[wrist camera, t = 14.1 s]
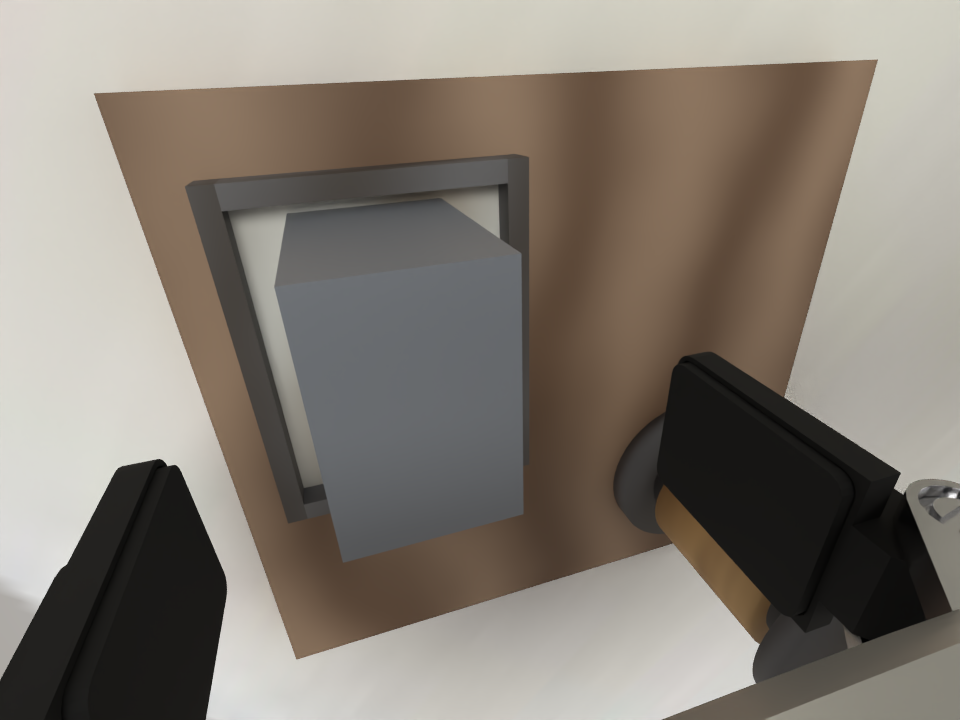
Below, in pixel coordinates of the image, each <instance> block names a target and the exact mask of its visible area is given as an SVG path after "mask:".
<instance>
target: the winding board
mask: <svg viewBox="0 0 960 720" xmlns="http://www.w3.org/2000/svg"><path fill="white" fill-rule="evenodd" d="M877 61H878V60H859V61H836V62H813V63H789V64H766V65H743V66H720V67H697V68H674V69H651V70H627V71H604V72H581V73H558V74H535V75H512V76H489V77H465V78H442V79H419V80H396V81H373V82H350V83H327V84H303V85H280V86H257V87H234V88H211V89H188V90H164V91H141V92H118V93H95V94H94V95H95V98H96V101H97V103H98V106H99V109H100V112H101V115H102V117H103V120H104V123H105V126H106V128H107V131H108V134H109V137H110V140H111V142H112V145H113V148H114V151H115V154H116V156H117V159H118V162H119V165H120V168H121V170H122V173H123V176H124V179H125V182H126V184H127V187H128V190H129V193H130V196H131V198H132V201H133V204H134V207H135V209H136V212H137V215H138V218H139V221H140V223H141V226H142V229H143V232H144V235H145V237H146V240H147V243H148V246H149V249H150V251H151V254H152V257H153V260H154V263H155V265H156V268H157V271H158V274H159V277H160V279H161V282H162V285H163V288H164V290H165V293H166V296H167V299H168V302H169V304H170V307H171V310H172V313H173V316H174V318H175V321H176V324H177V327H178V330H179V332H180V335H181V338H182V341H183V344H184V346H185V349H186V352H187V355H188V358H189V360H190V363H191V366H192V369H193V371H194V374H195V377H196V380H197V383H198V385H199V388H200V391H201V394H202V397H203V399H204V402H205V405H206V408H207V411H208V413H209V416H210V419H211V422H212V425H213V427H214V430H215V433H216V436H217V439H218V441H219V444H220V447H221V450H222V452H223V455H224V458H225V461H226V464H227V466H228V469H229V472H230V475H231V478H232V480H233V483H234V486H235V489H236V492H237V494H238V497H239V500H240V503H241V506H242V508H243V511H244V514H245V517H246V520H247V522H248V525H249V528H250V531H251V533H252V536H253V539H254V542H255V545H256V547H257V550H258V553H259V556H260V559H261V561H262V564H263V567H264V570H265V573H266V575H267V578H268V581H269V584H270V587H271V589H272V592H273V595H274V598H275V601H276V603H277V606H278V609H279V612H280V614H281V617H282V620H283V623H284V626H285V628H286V631H287V634H288V637H289V640H290V642H291V645H292V648H293V651H294V654H295V656H296V659H300V658H303V657H306V656H309V655H313V654H316V653H319V652H322V651H326V650H329V649H332V648H335V647H339V646H342V645H345V644H348V643H352V642H355V641H358V640H361V639H365V638H368V637H371V636H374V635H378V634H381V633H384V632H387V631H390V630H394V629H397V628H400V627H403V626H407V625H410V624H413V623H416V622H420V621H423V620H426V619H429V618H433V617H436V616H439V615H442V614H446V613H449V612H452V611H455V610H458V609H462V608H465V607H468V606H471V605H475V604H478V603H481V602H484V601H488V600H491V599H494V598H497V597H501V596H504V595H507V594H510V593H514V592H517V591H520V590H523V589H526V588H530V587H533V586H536V585H539V584H543V583H546V582H549V581H552V580H556V579H559V578H562V577H565V576H569V575H572V574H575V573H578V572H582V571H585V570H588V569H591V568H594V567H598V566H601V565H604V564H607V563H611V562H614V561H617V560H620V559H624V558H627V557H630V556H633V555H637V554H640V553H643V552H646V551H650V550H653V549H656V548H659V547H663V546H666V545H669V544H672V543H673V544H674V545H675V546H676V547H677V548H678V550H679V551H680V552H681V553H682V554H683V556H684V557H685V558H686V559H687V560H688V561H689V563H690V564H691V565H692V566H693V567H694V569H695V570H696V571H697V572H698V573H699V575H700V576H701V577H702V578H703V579H704V581H705V582H706V583H707V584H708V585H709V587H710V588H711V589H712V590H713V591H714V592H715V594H716V595H717V596H718V597H719V598H720V600H721V601H722V602H723V603H724V604H725V606H726V607H727V608H728V609H729V610H730V612H731V613H732V614H733V615H734V616H735V618H736V619H737V620H738V621H739V622H740V623H741V625H742V626H743V627H744V628H745V629H746V631H747V632H748V633H749V634H750V635H751V637H752V638H753V639H754V640H755V641H756V642H757V643H759V644H760V645H759V647H758V650H757V652H756V655H755V658H754V662H753V677H754V680H755V682H756V683H759V682H762V681H765V680H767V679H770V678H773V677H775V676H778V675H780V674H783V673H786V672H788V671H791V670H794V669H796V668H799V667H802V666H804V665H807V664H810V663H812V662H815V661H818V660H820V659H823V658H825V657H828V656H831V655H833V654H836V653H839V652H841V651H844V650H847V649H848V647H847V642H846V637H845V632H844V625H843V624H842V623H841V622H840V621H839V620H838V619H837V618H836V617H835V616H834V617H833V619H832V621H831V623H830V624H829V625H826V626H823V627H821V628H818V629H815V630H813V631H810V632H807V633H804V631H803V630H802V629H801V628H800V627H799V626H798V625H797V624H796V623H795V622H794V620H793V619H792V618H791V617H788V616H785V615H783V614H781V613H780V612H779V611H778V610H777V609H776V608H775V607H774V606H773V605H772V604H771V603H770V602H769V600H768V599H767V598H766V597H765V596H764V595H763V594H762V593H761V592H760V590H759V589H758V588H757V587H756V586H755V585H754V584H753V583H752V582H751V580H750V579H749V578H748V577H747V576H746V575H745V574H744V573H743V572H742V570H741V569H740V568H739V567H738V566H737V565H736V564H735V563H734V562H733V560H732V559H731V558H730V557H729V556H728V555H727V554H726V553H725V552H724V550H723V549H722V548H721V547H720V546H719V545H718V544H717V543H716V542H715V540H714V539H713V538H712V537H711V536H710V535H709V534H708V533H707V532H706V530H705V529H704V528H703V527H702V526H701V525H700V524H699V523H698V522H697V520H696V519H695V518H694V517H693V516H692V515H691V514H690V513H689V512H688V511H687V509H686V508H685V507H684V506H683V505H682V504H681V503H680V502H679V501H678V499H677V498H676V497H675V496H674V495H673V494H672V493H671V492H670V491H669V489H668V488H667V487H666V486H665V485H664V484H663V483H662V481H661V480H660V478H659V475H658V472H657V461H658V455H659V448H660V442H661V436H662V430H663V424H664V418H665V412H666V406H667V400H668V394H669V387H670V381H671V375H672V371H673V368H674V367H675V366H676V365H677V364H678V362H679V360H680V359H681V358H682V357H684V356H687V355H692V354H697V353H702V352H713V353H715V354H717V355H719V356H720V357H722V358H723V359H725V360H726V361H728V362H729V363H731V364H733V365H734V366H736V367H737V368H739V369H740V370H742V371H743V372H745V373H746V374H748V375H750V376H751V377H753V378H754V379H756V380H757V381H759V382H760V383H762V384H764V385H765V386H767V387H768V388H770V389H771V390H773V391H774V392H776V393H778V394H779V395H781V396H782V397H784V396H785V392H786V388H787V385H788V381H789V378H790V374H791V370H792V367H793V363H794V360H795V356H796V352H797V349H798V345H799V342H800V338H801V334H802V331H803V327H804V324H805V320H806V316H807V313H808V309H809V306H810V302H811V298H812V295H813V291H814V288H815V284H816V280H817V277H818V273H819V270H820V266H821V262H822V259H823V255H824V252H825V248H826V244H827V241H828V237H829V234H830V230H831V226H832V223H833V219H834V216H835V212H836V208H837V205H838V201H839V198H840V194H841V190H842V187H843V183H844V180H845V176H846V172H847V169H848V165H849V162H850V158H851V154H852V151H853V147H854V144H855V140H856V136H857V133H858V129H859V126H860V122H861V118H862V115H863V111H864V108H865V104H866V100H867V97H868V93H869V90H870V86H871V82H872V79H873V75H874V72H875V68H876V64H877ZM434 198H442V199H443V200H445V201H446V202H447V203H449V204H450V205H452V206H453V207H455V208H456V209H458V210H459V211H460V212H462V213H463V214H465V215H466V216H468V217H469V218H471V219H472V220H474V221H475V222H476V223H478V224H479V225H481V226H482V227H484V228H485V229H487V230H488V231H489V232H491V233H492V234H494V235H495V236H497V237H498V238H500V239H501V240H503V241H504V242H505V243H507V244H508V245H510V246H511V247H513V248H514V249H516V250H517V251H519V252H520V253H521V270H522V394H523V514H522V515H519V516H515V517H511V518H507V519H504V520H500V521H496V522H493V523H489V524H485V525H482V526H478V527H474V528H470V529H467V530H463V531H459V532H456V533H452V534H448V535H444V536H441V537H437V538H433V539H430V540H426V541H422V542H419V543H415V544H411V545H407V546H404V547H400V548H396V549H393V550H389V551H385V552H381V553H378V554H374V555H370V556H367V557H363V558H359V559H356V560H352V561H348V562H344V563H343V561H342V557H341V553H340V549H339V545H338V541H337V537H336V533H335V529H334V525H333V521H332V517H331V513H330V509H329V505H328V501H327V497H326V493H325V489H324V485H323V481H322V477H321V473H320V469H319V465H318V460H317V456H316V452H315V448H314V444H313V440H312V436H311V432H310V428H309V424H308V420H307V416H306V412H305V408H304V404H303V400H302V396H301V392H300V388H299V384H298V380H297V376H296V372H295V368H294V364H293V360H292V356H291V352H290V348H289V344H288V340H287V336H286V332H285V328H284V324H283V320H282V316H281V312H280V308H279V304H278V300H277V296H276V292H275V288H274V285H275V279H276V273H277V267H278V262H279V256H280V250H281V244H282V238H283V232H284V227H285V221H286V215H287V213H297V212H307V211H316V210H326V209H336V208H346V207H355V206H365V205H375V204H385V203H395V202H404V201H414V200H424V199H434Z"/></svg>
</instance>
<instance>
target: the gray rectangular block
mask: <svg viewBox="0 0 960 720" xmlns="http://www.w3.org/2000/svg"><path fill="white" fill-rule="evenodd" d="M274 288H275V292H276V296H277V300H278V304H279V308H280V312H281V316H282V320H283V324H284V328H285V332H286V336H287V340H288V344H289V348H290V352H291V356H292V360H293V364H294V368H295V372H296V376H297V380H298V384H299V388H300V392H301V396H302V400H303V404H304V408H305V412H306V416H307V420H308V424H309V428H310V432H311V436H312V440H313V444H314V448H315V452H316V456H317V460H318V465H319V469H320V473H321V477H322V481H323V485H324V489H325V493H326V497H327V501H328V505H329V509H330V513H331V517H332V521H333V525H334V529H335V533H336V537H337V541H338V545H339V549H340V553H341V557H342V561H343V563H344V562H348V561H352V560H356V559H359V558H363V557H367V556H370V555H374V554H378V553H381V552H385V551H389V550H393V549H396V548H400V547H404V546H407V545H411V544H415V543H419V542H422V541H426V540H430V539H433V538H437V537H441V536H444V535H448V534H452V533H456V532H459V531H463V530H467V529H470V528H474V527H478V526H482V525H485V524H489V523H493V522H496V521H500V520H504V519H507V518H511V517H515V516H519V515H522V514H523V394H522V270H521V253H520V252H519V251H517V250H516V249H514V248H513V247H511V246H510V245H508V244H507V243H505V242H504V241H503V240H501V239H500V238H498V237H497V236H495V235H494V234H492V233H491V232H489V231H488V230H487V229H485V228H484V227H482V226H481V225H479V224H478V223H476V222H475V221H474V220H472V219H471V218H469V217H468V216H466V215H465V214H463V213H462V212H460V211H459V210H458V209H456V208H455V207H453V206H452V205H450V204H449V203H447V202H446V201H445V200H443V199H442V198H434V199H424V200H414V201H404V202H395V203H385V204H375V205H365V206H355V207H346V208H336V209H326V210H316V211H307V212H297V213H287V215H286V221H285V227H284V232H283V238H282V244H281V250H280V256H279V262H278V267H277V273H276V279H275V285H274Z"/></svg>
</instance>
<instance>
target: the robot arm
mask: <svg viewBox="0 0 960 720" xmlns="http://www.w3.org/2000/svg"><path fill="white" fill-rule="evenodd" d="M657 472H658V475H659V478H660V480H661V481H662V483H663V484H664V485H665V486H666V487H667V488H668V489H669V491H670V492H671V493H672V494H673V495H674V496H675V497H676V498H677V499H678V501H679V502H680V503H681V504H682V505H683V506H684V507H685V508H686V509H687V511H688V512H689V513H690V514H691V515H692V516H693V517H694V518H695V519H696V520H697V522H698V523H699V524H700V525H701V526H702V527H703V528H704V529H705V530H706V532H707V533H708V534H709V535H710V536H711V537H712V538H713V539H714V540H715V542H716V543H717V544H718V545H719V546H720V547H721V548H722V549H723V550H724V552H725V553H726V554H727V555H728V556H729V557H730V558H731V559H732V560H733V562H734V563H735V564H736V565H737V566H738V567H739V568H740V569H741V570H742V572H743V573H744V574H745V575H746V576H747V577H748V578H749V579H750V580H751V582H752V583H753V584H754V585H755V586H756V587H757V588H758V589H759V590H760V592H761V593H762V594H763V595H764V596H765V597H766V598H767V599H768V600H769V602H770V603H771V604H772V605H773V606H774V607H775V608H776V609H777V610H778V611H779V612H780V613H781V614H783V615H785V616H788V617H791V618H792V619H793V620H794V622H795V623H796V624H797V625H798V626H799V627H800V628H801V629H802V630H803V631H804V633H807V632H810V631H813V630H815V629H818V628H821V627H823V626H826V625H829V624H830V623H831V621H832V619H833V617H834V616H835V617H836V618H837V619H838V620H839V621H840V622H841V623H842V624H843V625H844V632H845V637H846V642H847V647H848V649H847V650H844V651H841V652H839V653H836V654H833V655H831V656H828V657H825V658H823V659H820V660H818V661H815V662H812V663H810V664H807V665H804V666H802V667H799V668H796V669H794V670H791V671H788V672H786V673H783V674H780V675H778V676H775V677H773V678H770V679H767V680H765V681H762V682H759V683H757V684H754V685H751V686H749V687H746V688H743V689H741V690H738V691H736V692H733V693H730V694H728V695H725V696H723V697H720V698H717V699H715V700H712V701H710V702H707V703H704V704H702V705H699V706H696V707H694V708H691V709H689V710H686V711H683V712H681V713H678V714H676V715H673V716H670V717H668V718H665V719H663V720H960V484H959V483H955V482H951V481H946V480H938V479H924V480H918V481H915V482H913V483H911V484H910V485H909V486H908V488H907V489H906V491H905V493H904V495H903V494H901V493H900V492H898V491H897V490H895V489H894V487H895V484H896V482H897V480H898V478H899V476H900V474H901V473H900V472H899V471H897V470H896V469H894V468H892V467H891V466H889V465H888V464H886V463H885V462H883V461H882V460H880V459H878V458H877V457H875V456H874V455H872V454H871V453H869V452H868V451H866V450H864V449H863V448H861V447H860V446H858V445H857V444H855V443H854V442H852V441H850V440H849V439H847V438H846V437H844V436H843V435H841V434H840V433H838V432H837V431H835V430H833V429H832V428H830V427H829V426H827V425H826V424H824V423H823V422H821V421H819V420H818V419H816V418H815V417H813V416H812V415H810V414H809V413H807V412H805V411H804V410H802V409H801V408H799V407H798V406H796V405H795V404H793V403H792V402H790V401H788V400H787V399H785V398H784V397H782V396H781V395H779V394H778V393H776V392H774V391H773V390H771V389H770V388H768V387H767V386H765V385H764V384H762V383H760V382H759V381H757V380H756V379H754V378H753V377H751V376H750V375H748V374H746V373H745V372H743V371H742V370H740V369H739V368H737V367H736V366H734V365H733V364H731V363H729V362H728V361H726V360H725V359H723V358H722V357H720V356H719V355H717V354H715V353H713V352H702V353H697V354H692V355H687V356H684V357H682V358H681V359H680V360H679V362H678V364H677V365H676V366H675V367H674V368H673V371H672V375H671V381H670V387H669V394H668V400H667V406H666V412H665V418H664V424H663V430H662V436H661V442H660V448H659V455H658V461H657ZM226 596H227V584H226V577H225V574H224V571H223V569H222V567H221V564H220V562H219V560H218V557H217V555H216V553H215V550H214V548H213V545H212V543H211V541H210V538H209V536H208V534H207V531H206V529H205V527H204V524H203V522H202V520H201V517H200V515H199V513H198V510H197V508H196V506H195V503H194V501H193V498H192V496H191V494H190V491H189V489H188V487H187V484H186V482H185V480H184V477H183V475H182V473H181V471H180V469H179V467H178V466H176V465H172V466H167V465H166V463H165V462H164V461H163V460H160V459H157V460H152V461H147V462H142V463H137V464H131V465H126V466H122V467H120V468H118V469H117V470H116V472H115V473H114V475H113V477H112V479H111V481H110V483H109V485H108V487H107V489H106V491H105V493H104V495H103V496H102V498H101V500H100V502H99V504H98V506H97V508H96V510H95V512H94V514H93V516H92V518H91V520H90V521H89V523H88V525H87V527H86V529H85V531H84V533H83V535H82V537H81V539H80V541H79V543H78V545H77V546H76V548H75V550H74V552H73V554H72V556H71V558H70V560H69V562H68V564H67V565H66V566H64V567H63V568H61V570H60V571H59V572H58V574H57V575H56V577H55V578H54V580H53V582H52V584H51V586H50V587H49V589H48V591H47V593H46V595H45V597H44V599H43V601H42V603H41V604H40V606H39V608H38V610H37V612H36V614H35V616H34V618H33V619H32V622H31V623H30V625H29V627H28V629H27V631H26V633H25V635H24V636H23V639H22V640H21V642H20V644H19V646H18V648H17V650H16V652H15V653H14V655H13V657H12V659H11V661H10V663H9V665H8V667H7V669H6V670H5V672H4V674H3V676H2V678H1V680H0V720H206V714H207V708H208V702H209V696H210V691H211V685H212V679H213V673H214V667H215V661H216V655H217V649H218V643H219V638H220V632H221V626H222V620H223V614H224V608H225V602H226Z"/></svg>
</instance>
